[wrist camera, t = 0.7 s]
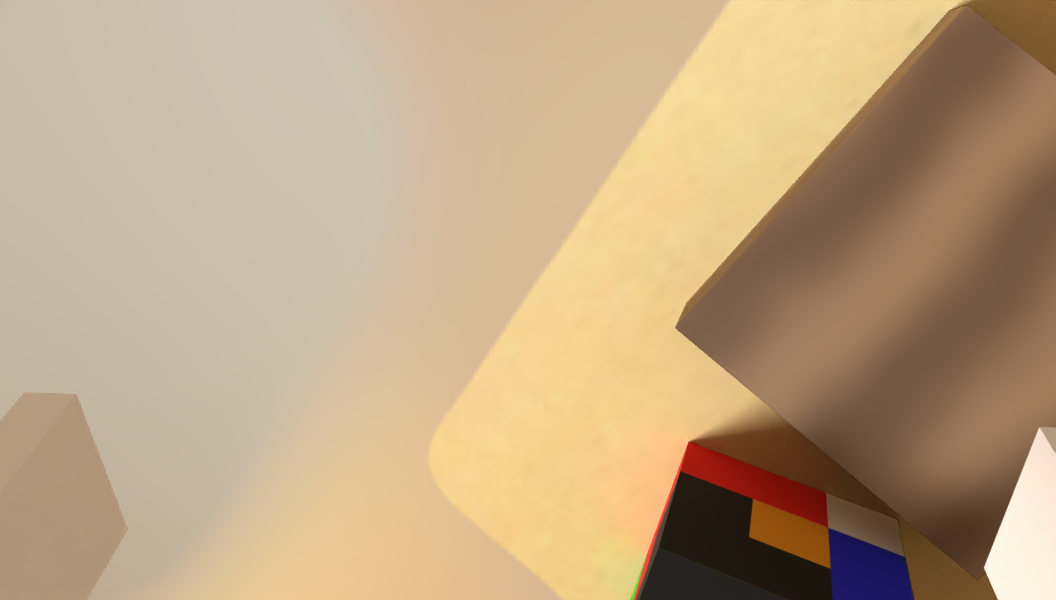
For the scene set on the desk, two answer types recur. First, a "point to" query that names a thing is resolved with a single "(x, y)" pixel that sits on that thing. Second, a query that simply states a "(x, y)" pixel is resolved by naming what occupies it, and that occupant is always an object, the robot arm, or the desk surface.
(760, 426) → the desk surface
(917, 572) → the desk surface
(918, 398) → the walnut plinth
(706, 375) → the desk surface
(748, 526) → the puzzle toy
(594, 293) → the desk surface
